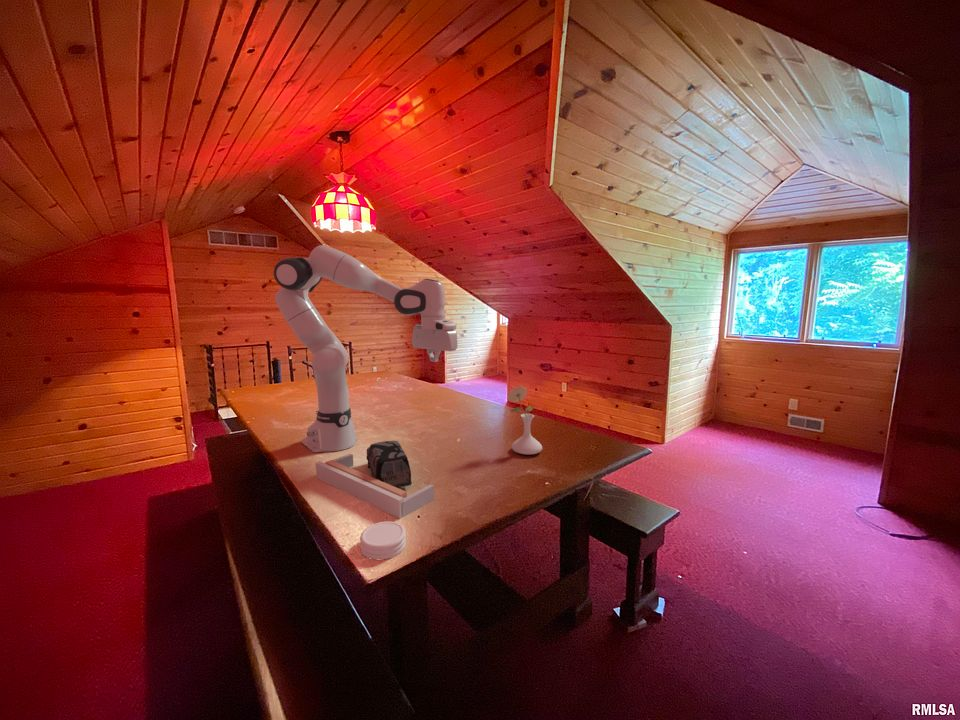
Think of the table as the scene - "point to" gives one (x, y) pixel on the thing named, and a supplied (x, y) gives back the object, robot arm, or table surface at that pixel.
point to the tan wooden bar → (368, 479)
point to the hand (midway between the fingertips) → (434, 361)
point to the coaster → (383, 540)
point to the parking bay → (372, 489)
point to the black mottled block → (389, 463)
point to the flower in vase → (526, 441)
